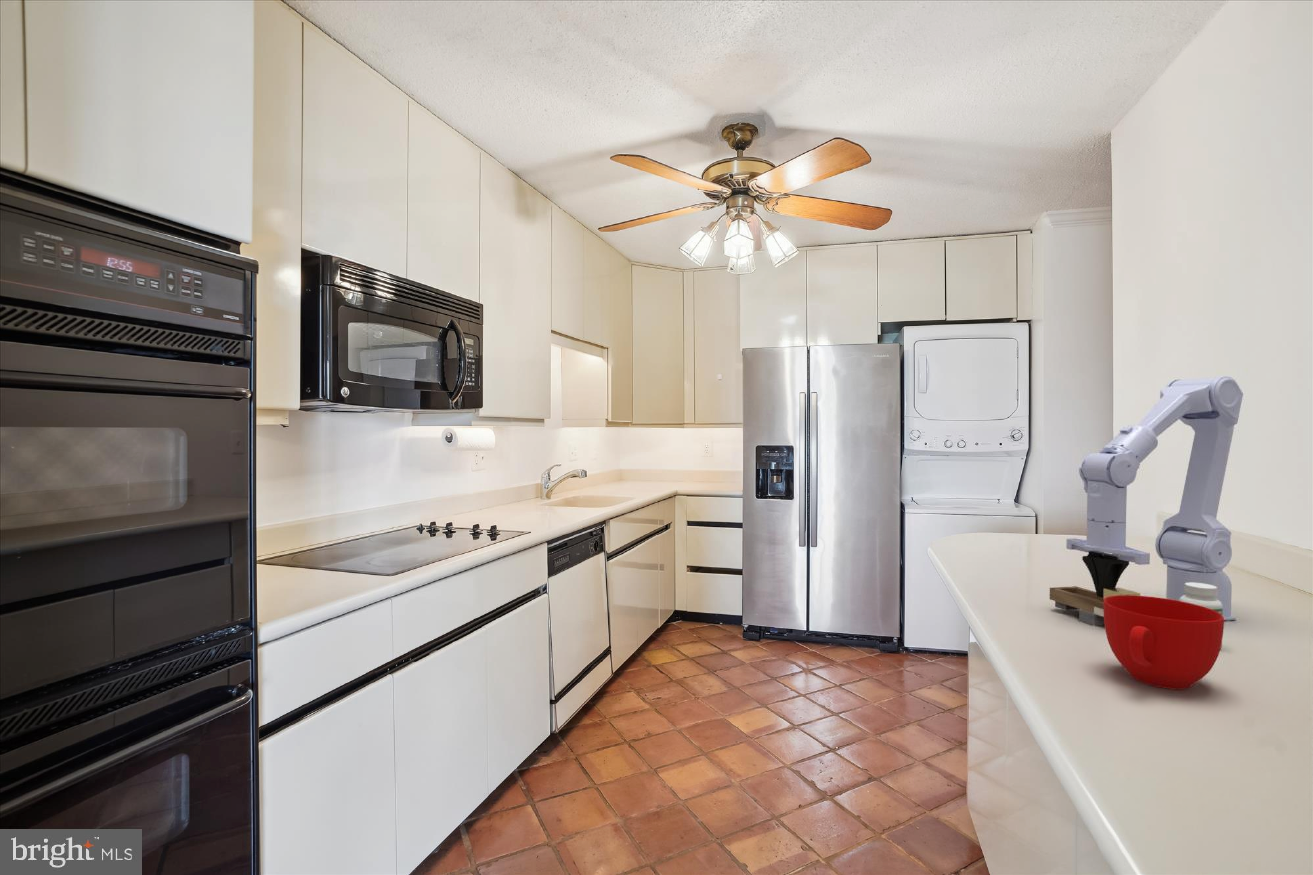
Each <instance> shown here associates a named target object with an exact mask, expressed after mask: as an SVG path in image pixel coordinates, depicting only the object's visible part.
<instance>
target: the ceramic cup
mask: <svg viewBox="0 0 1313 875" xmlns="http://www.w3.org/2000/svg"><path fill="white" fill-rule="evenodd" d="M1103 612H1104V624H1105V625H1104V629H1105V634H1106V639H1107V642H1108V645H1109V647H1110V649H1111V651H1112V654H1113V655H1114V657H1115V658H1116V660H1118V662H1119V663H1120V664H1121V666H1122V668H1124V669H1125V671H1126V672H1127V673H1128V674H1129V676H1130V677H1131V678H1133V679H1134V680H1136V681H1138V682H1141V683H1144V684H1147V685H1150V686H1154V687H1158V688H1162V689H1170V690H1171V689H1172V690H1187V689H1189V688H1191V687H1192V686H1193V685H1194V684H1195V683H1197V682H1199V681H1201V680H1202V679H1203V678H1205V677H1206V676H1207V675H1208V673H1210V671H1211V670H1212V668H1213V667H1214V665H1215V663H1216V662H1217V659H1218V658H1219V654H1220V651H1221V648H1222V647H1221V643H1222V644H1223V636H1224V627H1225V620H1224V617H1223V616H1222V615H1221V614H1220V613H1218V612H1216V611H1214V610H1212V609H1209V608H1206V607H1203V606H1199V605H1195V604H1191V603H1187V602H1182V601H1177V600H1171V599H1166V598H1163V597H1157V596H1156V597H1155V596H1148V595H1147V596H1146V595H1140V596H1135V595H1117V596H1109V597H1106V598H1105V599H1104V600H1103Z"/></svg>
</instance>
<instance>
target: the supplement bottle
mask: <svg viewBox="0 0 1313 875" xmlns="http://www.w3.org/2000/svg"><path fill="white" fill-rule="evenodd" d="M1184 591H1185V592H1186V593H1187V595H1183V596H1181V597H1180V599H1179V601H1182V602H1187V603H1191V604H1195V605H1199V606H1203V607H1206V608H1209V609H1212V610H1214V611H1216V612H1218V613H1220V614H1221V615H1222V614H1223V606H1222V603H1221V602H1220V601H1219V600H1217V599H1215V597H1216V596H1217V594H1218V593H1217V587H1216V586H1213V585H1209V584H1203V583H1194V582H1189V583H1185V586H1184ZM1222 647H1223V642H1222V643H1221V648H1222Z"/></svg>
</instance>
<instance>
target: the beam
mask: <svg viewBox="0 0 1313 875" xmlns="http://www.w3.org/2000/svg"><path fill="white" fill-rule="evenodd" d="M1049 600H1050V601H1053V602H1054V607H1055V608H1058V609H1062V610H1064V611H1076V610H1079V611H1078V614H1079V615H1078V617H1079V619H1078V620H1079V622H1082V623H1084V622H1085V624H1087V625H1090V624H1091V626H1093V625H1099V626H1105V624H1104V612H1103V598H1102V597H1098V596H1097V593H1096V591H1094V590H1090V589H1086V588H1083V587H1079V586H1059V587H1058V586H1056V587H1055V586H1054V587H1049Z"/></svg>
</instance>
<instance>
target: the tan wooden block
mask: <svg viewBox="0 0 1313 875" xmlns="http://www.w3.org/2000/svg"><path fill="white" fill-rule="evenodd" d="M1117 595H1135V596H1141V592H1137V591H1133V590H1130V589H1125V588H1122V587H1115V588H1104V596H1103V600H1104V599H1105V598H1106V597H1109V596H1117Z"/></svg>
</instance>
